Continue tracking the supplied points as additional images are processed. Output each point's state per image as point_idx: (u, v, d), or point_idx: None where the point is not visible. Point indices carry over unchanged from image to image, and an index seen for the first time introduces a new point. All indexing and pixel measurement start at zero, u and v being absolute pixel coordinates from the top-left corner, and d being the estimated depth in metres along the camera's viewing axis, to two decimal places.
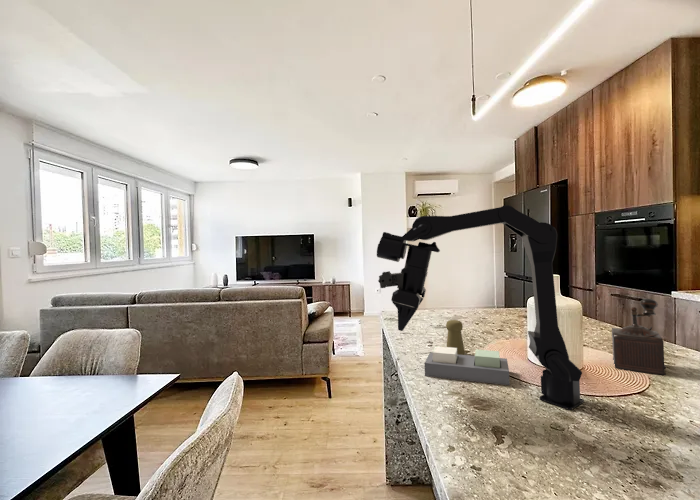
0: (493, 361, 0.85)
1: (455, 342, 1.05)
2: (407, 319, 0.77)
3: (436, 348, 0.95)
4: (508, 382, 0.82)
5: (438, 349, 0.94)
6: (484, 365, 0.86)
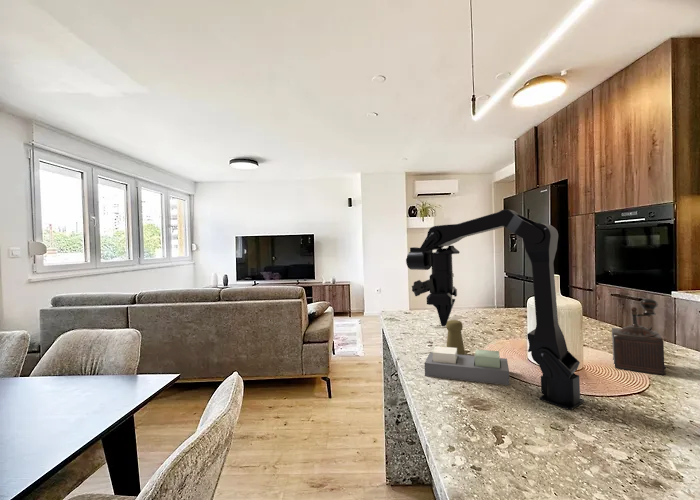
0: (493, 361, 0.85)
1: (455, 342, 1.05)
2: (447, 315, 0.91)
3: (436, 348, 0.95)
4: (508, 382, 0.82)
5: (438, 349, 0.94)
6: (484, 365, 0.86)
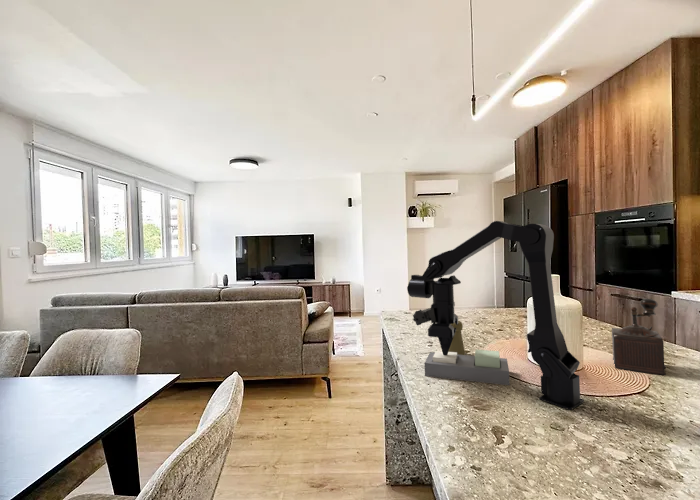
0: (493, 361, 0.85)
1: (455, 342, 1.05)
2: (448, 344, 0.91)
3: (436, 353, 0.95)
4: (508, 382, 0.82)
5: (438, 354, 0.94)
6: (484, 365, 0.86)
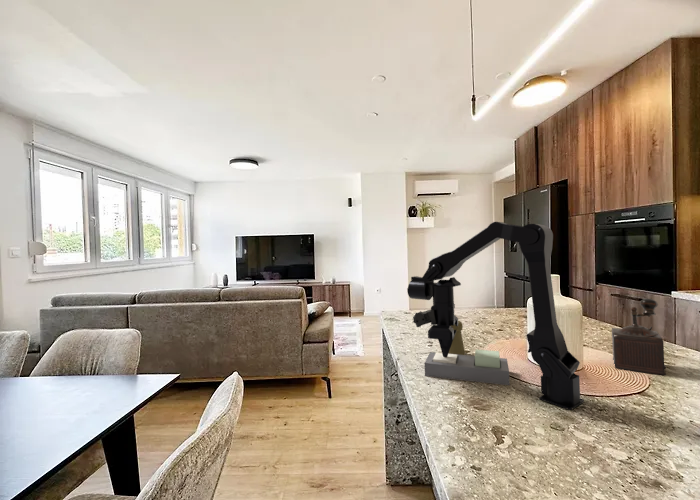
0: (493, 361, 0.85)
1: (455, 342, 1.05)
2: (448, 346, 0.91)
3: (436, 355, 0.95)
4: (508, 382, 0.82)
5: (438, 356, 0.94)
6: (484, 365, 0.86)
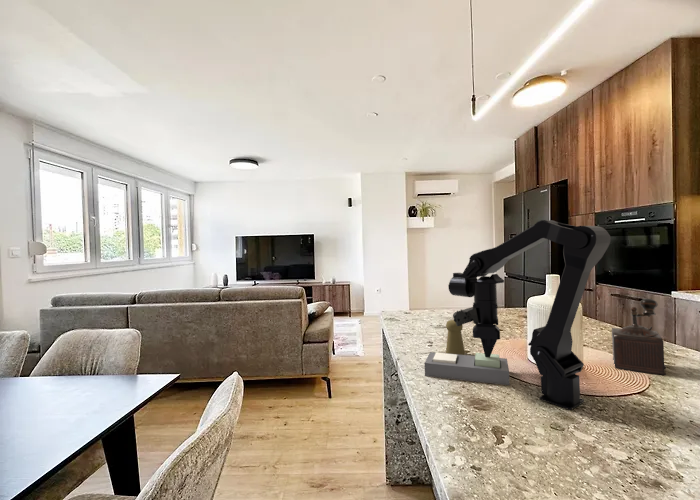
0: (493, 364, 0.85)
1: (455, 342, 1.05)
2: (491, 346, 0.87)
3: (436, 355, 0.95)
4: (508, 382, 0.82)
5: (438, 356, 0.94)
6: None
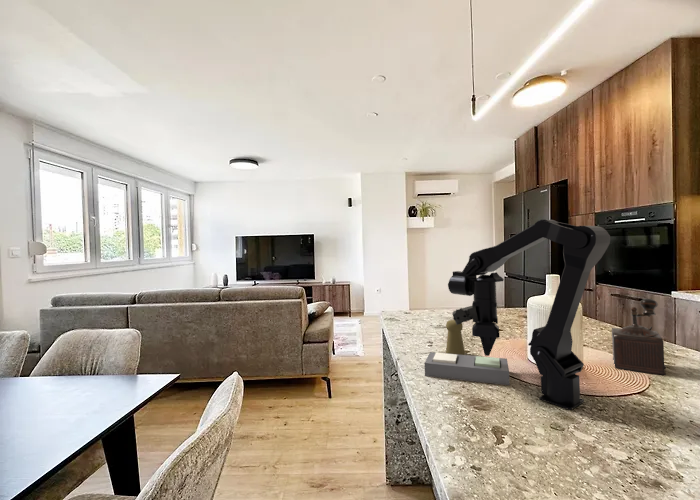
0: None
1: (455, 342, 1.05)
2: (491, 344, 0.87)
3: (436, 355, 0.95)
4: (508, 382, 0.82)
5: (438, 356, 0.94)
6: None
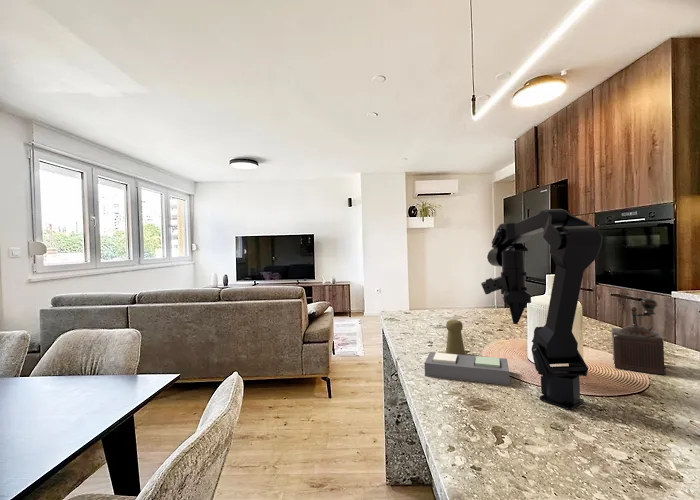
0: None
1: (455, 342, 1.05)
2: (520, 312, 0.90)
3: (436, 355, 0.95)
4: (508, 382, 0.82)
5: (438, 356, 0.94)
6: None
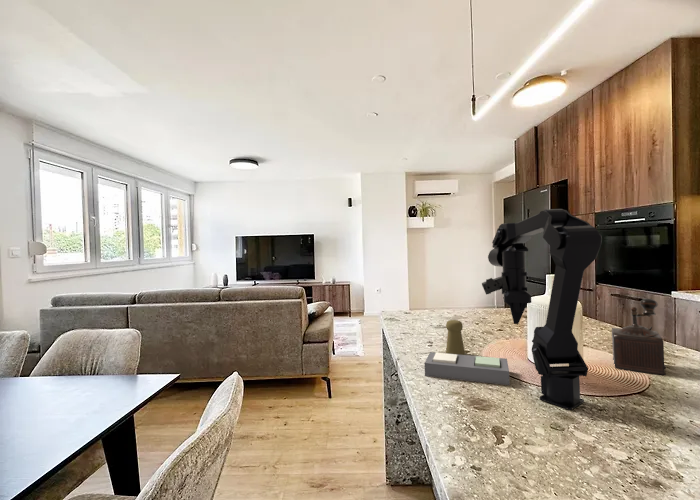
0: None
1: (455, 342, 1.05)
2: (520, 312, 0.90)
3: (436, 355, 0.95)
4: (508, 382, 0.82)
5: (438, 356, 0.94)
6: None
